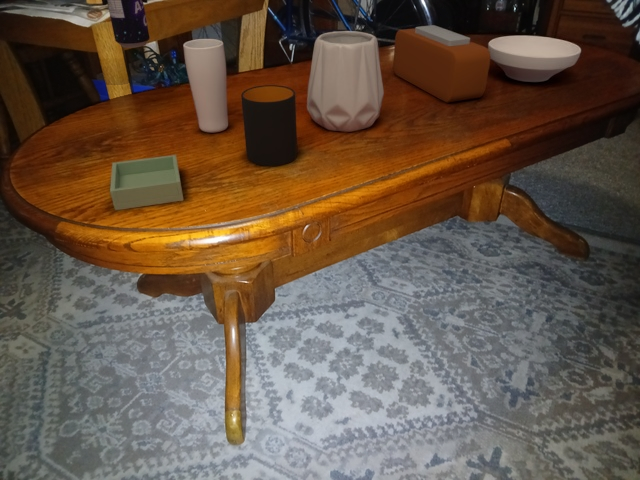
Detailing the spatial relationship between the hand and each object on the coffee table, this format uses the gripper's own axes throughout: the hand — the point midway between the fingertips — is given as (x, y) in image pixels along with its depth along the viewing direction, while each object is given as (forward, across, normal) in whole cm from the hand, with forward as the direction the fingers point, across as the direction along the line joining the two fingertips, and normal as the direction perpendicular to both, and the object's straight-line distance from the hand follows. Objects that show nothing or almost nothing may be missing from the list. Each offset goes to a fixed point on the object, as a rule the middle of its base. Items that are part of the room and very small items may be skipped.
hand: (125, 1), depth 85 cm
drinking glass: (+21, -11, +7) cm, 25 cm away
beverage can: (+7, 0, 0) cm, 7 cm away
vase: (+21, -35, +11) cm, 43 cm away
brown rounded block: (+21, -62, -2) cm, 65 cm away
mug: (+21, -18, +20) cm, 34 cm away
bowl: (+21, -84, -1) cm, 87 cm away
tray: (+21, +1, +28) cm, 35 cm away
